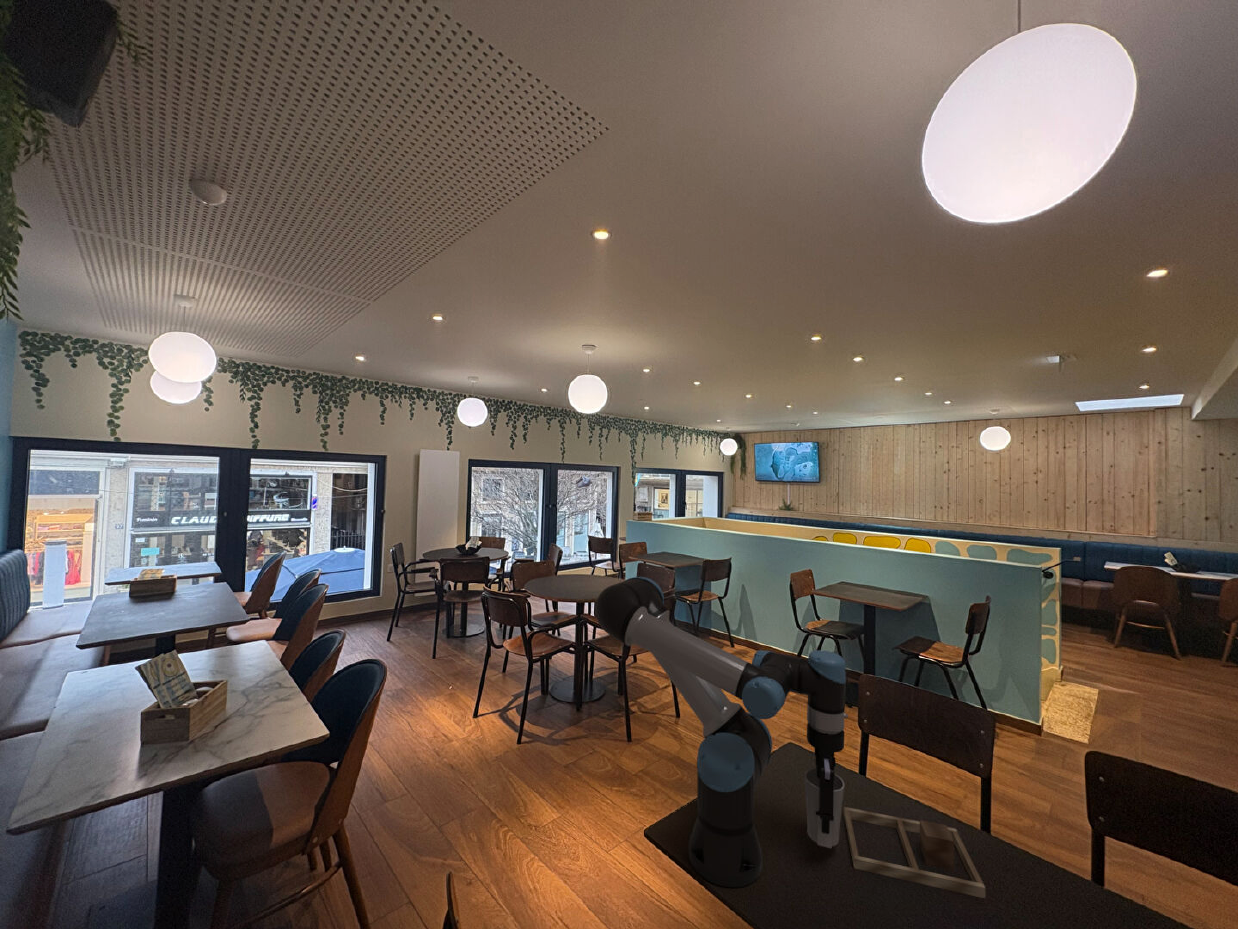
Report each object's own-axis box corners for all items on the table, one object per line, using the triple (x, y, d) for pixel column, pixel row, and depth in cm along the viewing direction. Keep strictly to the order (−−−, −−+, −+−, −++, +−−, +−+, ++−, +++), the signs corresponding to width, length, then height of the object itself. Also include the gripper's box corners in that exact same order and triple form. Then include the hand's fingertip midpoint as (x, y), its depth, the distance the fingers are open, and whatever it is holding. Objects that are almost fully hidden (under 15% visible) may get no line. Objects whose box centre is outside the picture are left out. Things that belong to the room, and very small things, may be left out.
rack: (853, 868, 102) (853, 858, 102) (844, 815, 118) (844, 806, 119) (985, 898, 95) (985, 888, 95) (955, 838, 111) (955, 828, 111)
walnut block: (926, 865, 104) (926, 835, 104) (919, 848, 108) (919, 820, 108) (954, 871, 102) (953, 841, 102) (946, 853, 107) (946, 825, 107)
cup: (847, 852, 103) (848, 794, 103) (806, 845, 105) (808, 788, 105) (838, 826, 111) (839, 771, 111) (800, 819, 112) (801, 766, 113)
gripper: (850, 754, 97) (847, 872, 97) (839, 708, 116) (836, 807, 116) (809, 746, 100) (806, 862, 99) (805, 702, 119) (802, 799, 118)
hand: (822, 832), depth 108 cm, fingers closed on cup, 7 cm apart
